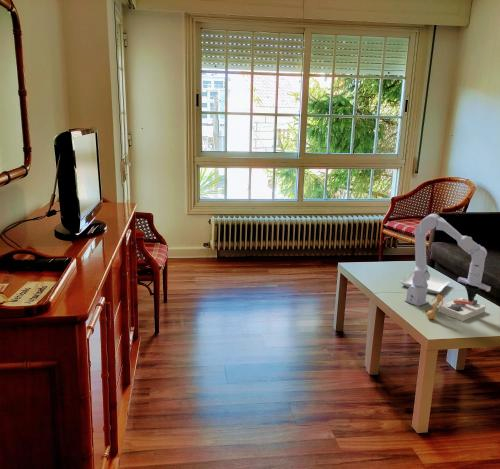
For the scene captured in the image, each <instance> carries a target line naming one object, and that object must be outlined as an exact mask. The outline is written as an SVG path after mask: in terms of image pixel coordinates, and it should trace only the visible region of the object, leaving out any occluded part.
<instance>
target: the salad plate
mask: <svg viewBox="0 0 500 469" xmlns="http://www.w3.org/2000/svg"><path fill="white" fill-rule="evenodd" d="M413 276H414V272H410V273H409V274H408V275H407V276H405V277H404V278H403V279H401V280H400V281H399V282H400V284H401V285H403V286H405V287H407V288H409V287H411V286H412V283H413V281H412V278H413ZM450 283H451V281H449V280H446V279H442V278H438V277H436V276H431V275H430V278H429V280H428V281H427V284H428V288H427V293H430V294H435V295H436V294H437V295H438V294H440V293H441V292H442V291H443V290H444V289H445V287H447V286H448V285H449V284H450Z"/></svg>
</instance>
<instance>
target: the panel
mask: <svg viewBox="0 0 500 469" xmlns="http://www.w3.org/2000/svg"><path fill="white" fill-rule="evenodd" d="M458 299H459V300H468V298H465V297H459V298H458ZM454 300H455V299H454ZM454 300H452V301H448V302H445V303H443V304H442V305H441V304H440V305H441V308H440V307H439V306H438V310H437V311H438V312H439V313H441V314H444V315H446V316H448V317H451V318H454V319H456V320H459V321H461V322H464V321H466V320H469V319H471V318H474V317H475V316H478V315H480V314H483V313H486V312H485V311H486V308H487V307H486V305H484V304H481V303H479V302H477V305H472V304H471V305H469V304H459V303H454ZM452 304H457V305H460V306H461V311H459V312H457V311H455V310H452V309H451V305H452Z"/></svg>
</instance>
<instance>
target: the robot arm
mask: <svg viewBox="0 0 500 469" xmlns="http://www.w3.org/2000/svg"><path fill="white" fill-rule="evenodd" d="M433 229H435V231H443V232H444V233H446V234H447V235H449V236H450V237H452V238H453V239H454V240H456V242H457V246H458V247H460V248H461V249H462V250H463V251H464V252H466V253H467V255H470V257H471V262H470V264H469V268H468V269H469V270H468V275H467V278H465V277H462V276H459V277H458V278H457V282H458V283H463V284H465V287H464V288H465V291H466V294H467V299H468V301H473V300H474V299H475V297H476V296H477V294H479V291H480V290H484V291H485V292H490V291H491V288H492V287H491V286H489V285H487V284H485V283H483V282H482V280H483V274H484V269H485V263H486V261H485V260H486V257H487V255H488V251H487V249H486V248H485V247H484V246H483V245H482V246H481V244H478V243H477V242H475V241H474V240H473V238H472V237H471V236H468V235H462V234H461V233H460V232H459V231H458V230H457V229H456V228H454V226H452V225H451V224H450V223H449V222H447V220H446V219H444V218H443V216H442V217H441V216H440V215H439V214H437V213H430V214H428V215H427V216H425V217H424V218H423V219H421V220H420V222H419V223H418V225H417V226H416V228H414V253H415V254H414V260H415V265H414V267H415V268H414V270H413V271H414V276H413V278H412V281H413V283H412V286H411V287H407V291H406V298H405V299H404V300H403V301H404V302H407V303H409V304H411V305H413V306H417V307H420V306H423V305H425V304H426V305H427V304H428V303H430V301H429V300H427V293H428V292H427V288H428V284H427V281H428V280H429V278H430V276H431V275H430V273H429V270H428V268H429V267H428V265H427V233H429V231H431V230H433Z"/></svg>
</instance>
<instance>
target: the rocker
mask: <svg viewBox="0 0 500 469" xmlns="http://www.w3.org/2000/svg"><path fill="white" fill-rule="evenodd" d="M454 303H459V304H469V305H471V304H473V301H468V300H459V298H456V299H454Z"/></svg>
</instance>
